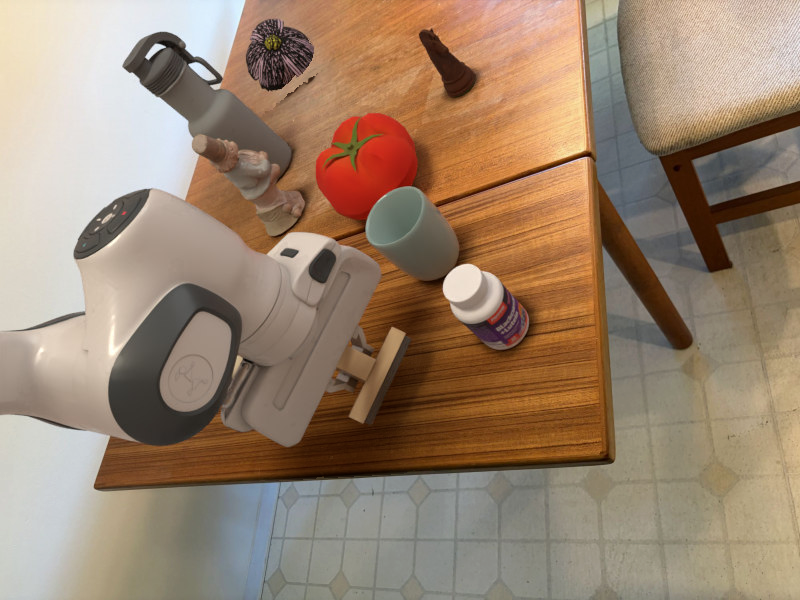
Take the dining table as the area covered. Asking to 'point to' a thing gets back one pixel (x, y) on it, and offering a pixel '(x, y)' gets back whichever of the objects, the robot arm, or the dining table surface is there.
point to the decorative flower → (277, 54)
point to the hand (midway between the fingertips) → (360, 369)
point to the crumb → (237, 365)
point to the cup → (413, 234)
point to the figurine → (253, 181)
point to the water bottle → (202, 98)
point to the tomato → (365, 163)
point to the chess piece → (447, 65)
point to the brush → (373, 373)
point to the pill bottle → (485, 306)
